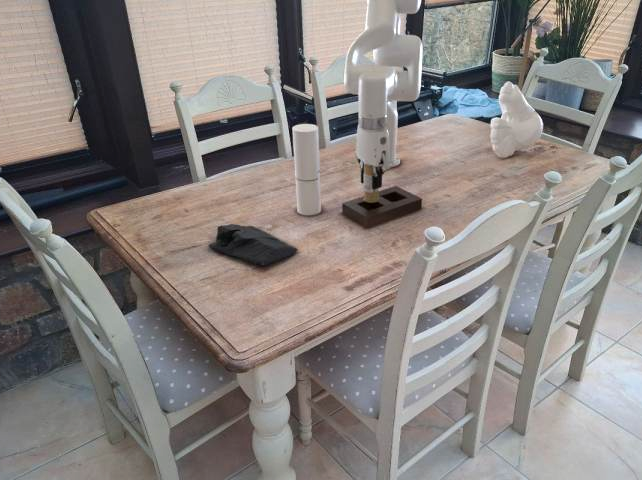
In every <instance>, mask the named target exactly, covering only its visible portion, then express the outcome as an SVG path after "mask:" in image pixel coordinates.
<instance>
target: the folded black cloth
mask: <svg viewBox="0 0 642 480" xmlns="http://www.w3.org/2000/svg"><path fill="white" fill-rule="evenodd" d="M216 229H217V231H216V232H217V233H216V237H215V241H212V242H211V243H210V244H208V248H211V250H216V251H218V252H220V253H223V255H227V256H230V257H235V258H238V259H240V260H243V261H245V262H246V261H247V262H249V263H251V264H255V265H256V266H259V265H261V266H267V265H269V264H272V263H274V262H276V261H279V260H282V259H285V258H287V257H290V256H293V255H294V254H295V253H296V252H297V251H299V249H298V248H297V247H294V246H292V245H289V244H287V243H286V242H284V241H282V240H280V239H278V238H277V237H276V236H273V235H272V234H270V233H269V232H266V231H264V230H261V229H260V228H258V227H255V226H254V225H240V224H235V223H230V224H225V225H218V226H217V228H216Z"/></svg>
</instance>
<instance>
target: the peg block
mask: <svg viewBox="0 0 642 480" xmlns="http://www.w3.org/2000/svg"><path fill="white" fill-rule="evenodd" d="M378 197H379V200H378V201H377V202H374V203H369V202H366V201H364V199H363V198H364V195H363V196H360V197H357V198H354V199H351V200H348V201H344V202H342V203H341V212H342V215H344V216H346V217H347V218H349V219H351V220H352V221H353V222H355V223H357V224H359V225H360V226H362V227H364V228H366V229H370V228H372V227H376V226H379V225H381V224H383V223H387V222H390V221H392V220H395V219H397V218H401V217H404V216H406V215H409V214H411V213H414V212H417V211H421V210H422V206H423V198H422V197H420V196H418V195H415V194H414V193H413V192H410V191H408V190H405V189H403V188H402V187H399V186H397V185H394V186H390V187H388V188H385V189H382V190H378Z"/></svg>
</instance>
